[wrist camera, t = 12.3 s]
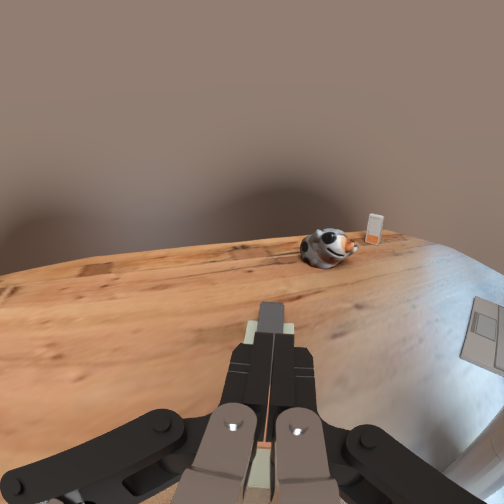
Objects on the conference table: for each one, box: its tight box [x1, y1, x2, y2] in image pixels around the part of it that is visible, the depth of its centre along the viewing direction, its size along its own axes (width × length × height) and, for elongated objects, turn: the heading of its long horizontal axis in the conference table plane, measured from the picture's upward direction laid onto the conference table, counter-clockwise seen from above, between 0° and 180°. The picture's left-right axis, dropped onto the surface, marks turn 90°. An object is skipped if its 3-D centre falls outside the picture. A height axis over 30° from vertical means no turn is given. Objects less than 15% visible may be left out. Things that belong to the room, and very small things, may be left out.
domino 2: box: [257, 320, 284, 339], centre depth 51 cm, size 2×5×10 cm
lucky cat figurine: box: [300, 228, 359, 269], centre depth 90 cm, size 17×14×16 cm
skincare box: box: [365, 214, 384, 245], centre depth 111 cm, size 6×4×12 cm
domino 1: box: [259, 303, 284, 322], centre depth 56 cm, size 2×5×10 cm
